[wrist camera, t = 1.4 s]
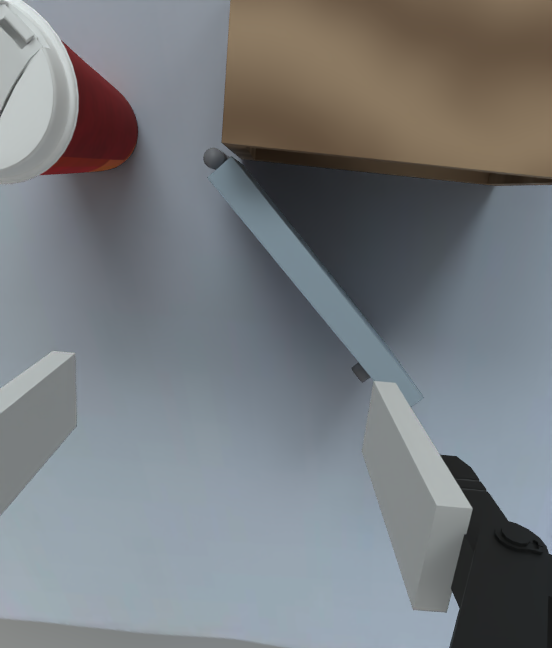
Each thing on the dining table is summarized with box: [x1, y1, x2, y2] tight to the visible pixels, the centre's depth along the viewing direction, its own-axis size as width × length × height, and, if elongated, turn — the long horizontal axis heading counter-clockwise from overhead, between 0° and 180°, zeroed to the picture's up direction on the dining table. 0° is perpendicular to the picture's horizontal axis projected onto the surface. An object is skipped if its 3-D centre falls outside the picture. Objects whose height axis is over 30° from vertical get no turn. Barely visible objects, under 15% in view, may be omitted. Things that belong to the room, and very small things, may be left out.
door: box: [204, 148, 424, 407], centre depth 29 cm, size 3×18×9 cm, turn 39°
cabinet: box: [222, 0, 552, 186], centre depth 25 cm, size 12×18×12 cm, turn 84°
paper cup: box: [0, 0, 138, 184], centre depth 25 cm, size 8×8×14 cm
